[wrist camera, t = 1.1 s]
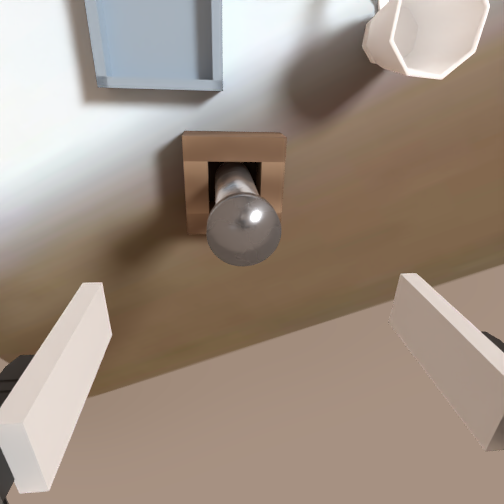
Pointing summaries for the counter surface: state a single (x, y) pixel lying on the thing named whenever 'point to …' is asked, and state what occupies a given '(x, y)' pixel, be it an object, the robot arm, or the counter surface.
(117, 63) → the tray
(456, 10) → the cup
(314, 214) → the counter surface
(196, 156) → the socket block
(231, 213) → the pin
